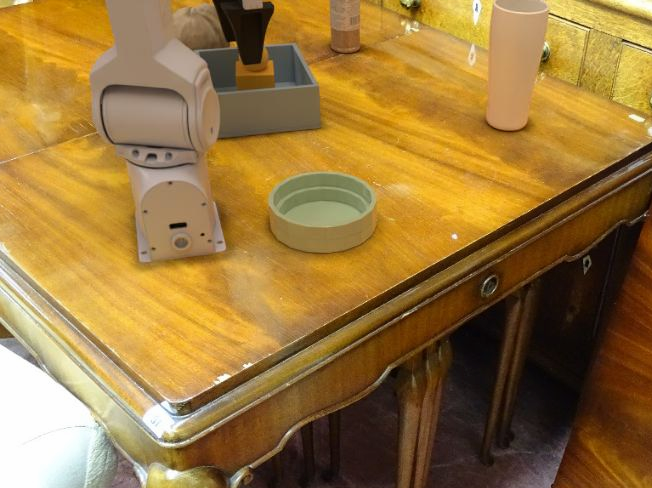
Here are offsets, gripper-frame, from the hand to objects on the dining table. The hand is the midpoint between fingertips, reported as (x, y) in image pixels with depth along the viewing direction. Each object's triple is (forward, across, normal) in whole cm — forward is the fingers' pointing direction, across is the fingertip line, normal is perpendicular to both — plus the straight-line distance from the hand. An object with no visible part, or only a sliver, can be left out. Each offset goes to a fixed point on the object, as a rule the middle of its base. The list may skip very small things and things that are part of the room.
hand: (243, 51), depth 93 cm
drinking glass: (+8, +14, +30) cm, 34 cm away
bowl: (+8, +28, 0) cm, 29 cm away
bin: (+8, -1, +1) cm, 8 cm away
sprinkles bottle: (+8, -17, +19) cm, 27 cm away
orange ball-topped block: (+7, 0, +1) cm, 8 cm away
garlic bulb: (+8, -15, -3) cm, 18 cm away
